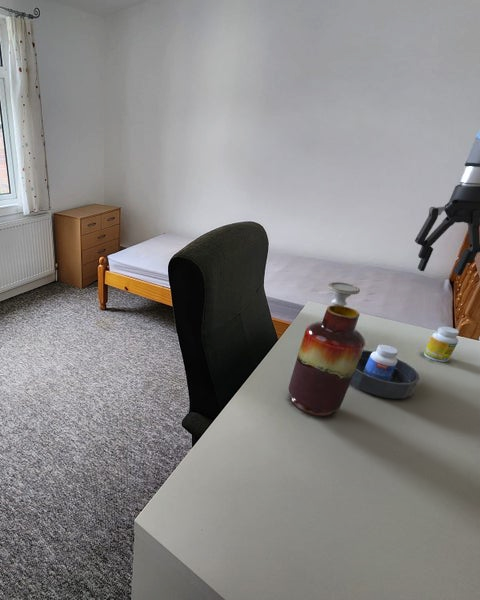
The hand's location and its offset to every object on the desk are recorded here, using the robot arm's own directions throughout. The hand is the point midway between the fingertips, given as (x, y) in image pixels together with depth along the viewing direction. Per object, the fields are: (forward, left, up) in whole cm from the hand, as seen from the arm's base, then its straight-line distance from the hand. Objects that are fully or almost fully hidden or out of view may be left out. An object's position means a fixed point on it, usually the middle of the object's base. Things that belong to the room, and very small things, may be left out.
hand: (438, 271), depth 94 cm
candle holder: (+22, -3, -26) cm, 34 cm away
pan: (+20, +15, -26) cm, 36 cm away
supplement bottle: (-6, +4, -26) cm, 27 cm away
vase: (+42, +24, -26) cm, 55 cm away
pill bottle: (+20, +15, -25) cm, 36 cm away
